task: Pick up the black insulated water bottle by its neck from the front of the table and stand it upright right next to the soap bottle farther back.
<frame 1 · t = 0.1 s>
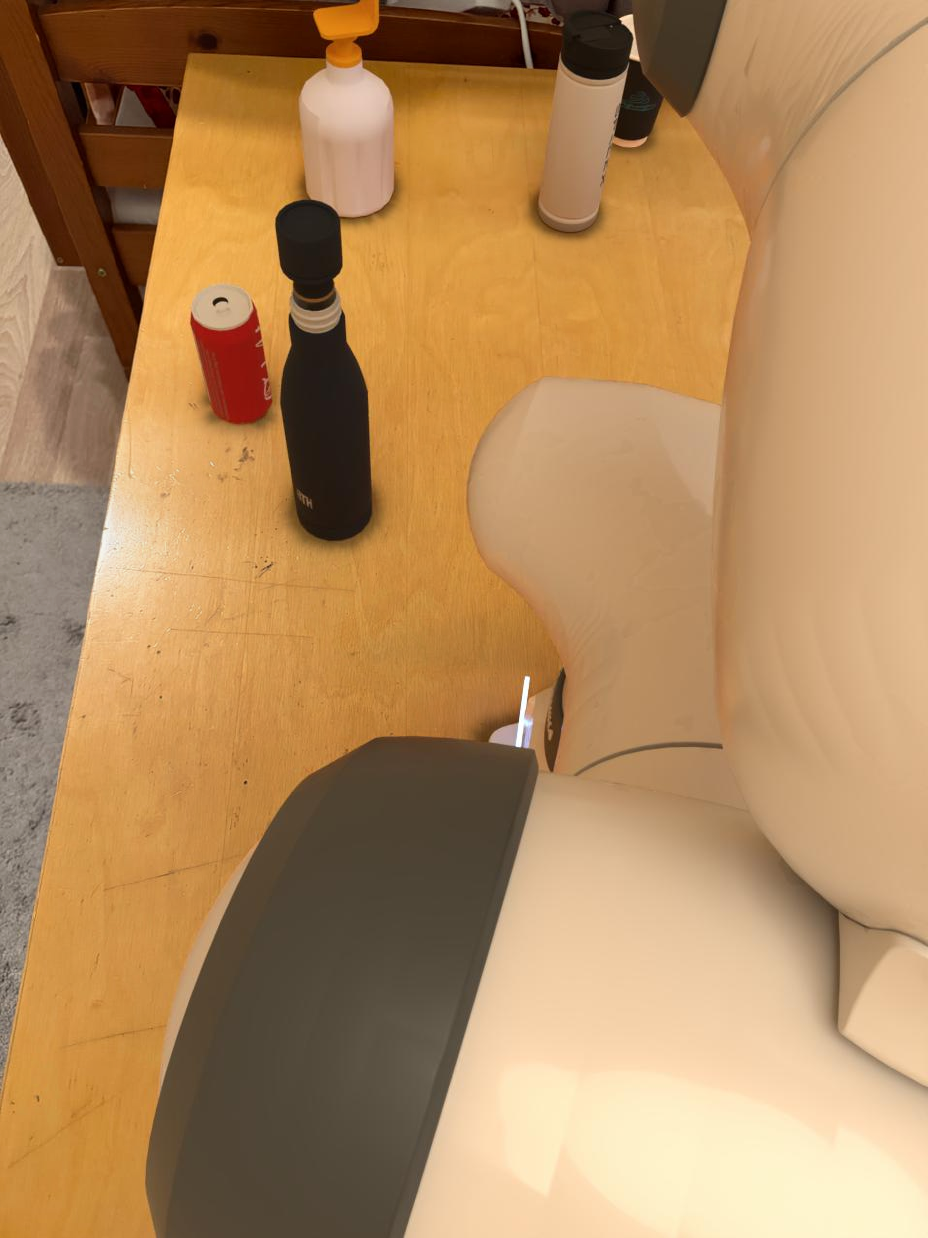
hand: (847, 128, 52), 39 cm above the table, tool pointing down, fingers open, 8 cm apart
travel mug: (565, 214, 105), on the table
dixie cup: (625, 134, 112), on the table
slate coaster: (570, 470, 89), on the table
soap bottle: (350, 191, 105), on the table
black insulated water bottle: (335, 511, 86), on the table
soda can: (242, 404, 91), on the table
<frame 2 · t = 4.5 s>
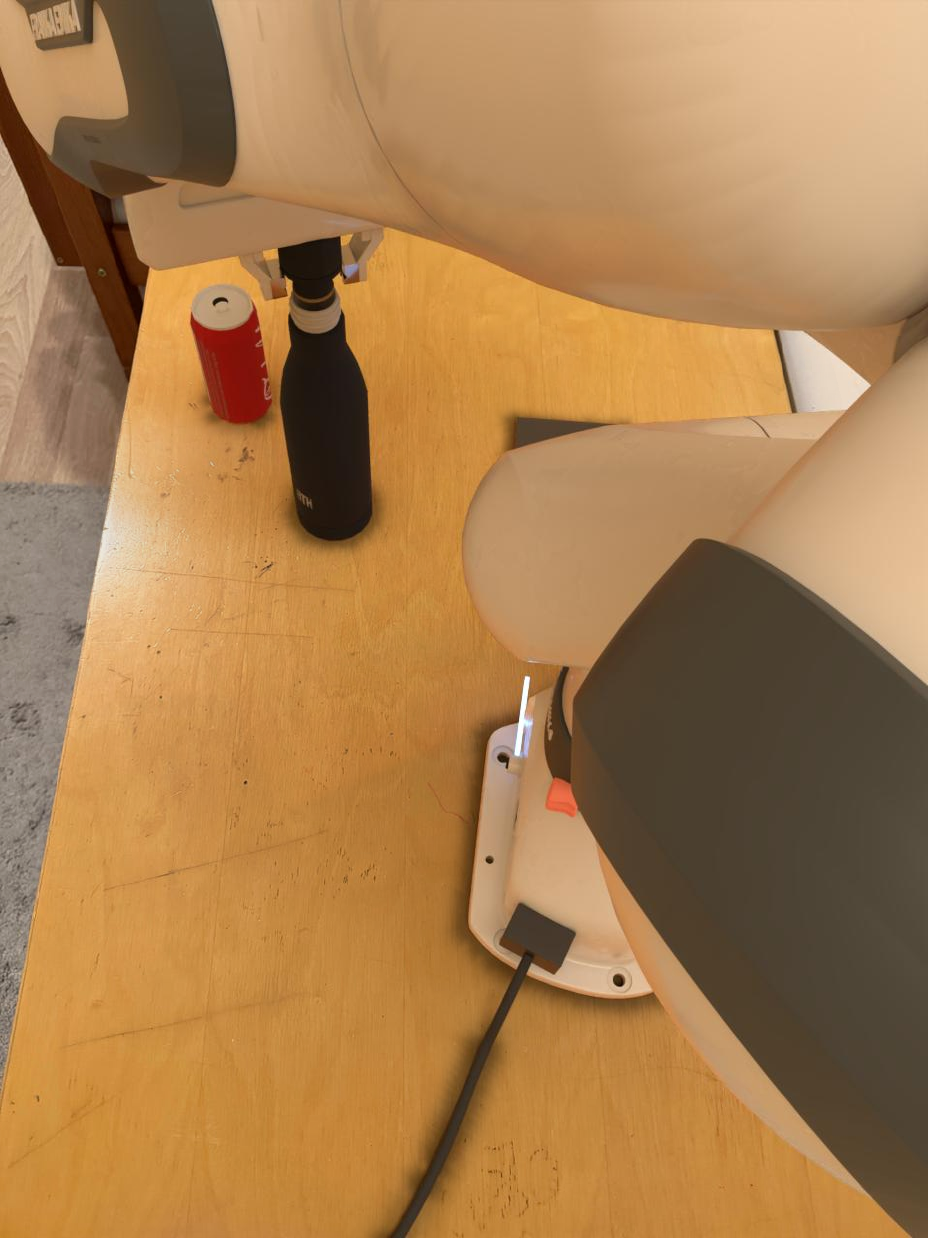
hand: (313, 284, 64), 25 cm above the table, tool pointing down, fingers closed on black insulated water bottle, 4 cm apart
black insulated water bottle: (335, 511, 86), on the table, touching gripper
everything else where it was.
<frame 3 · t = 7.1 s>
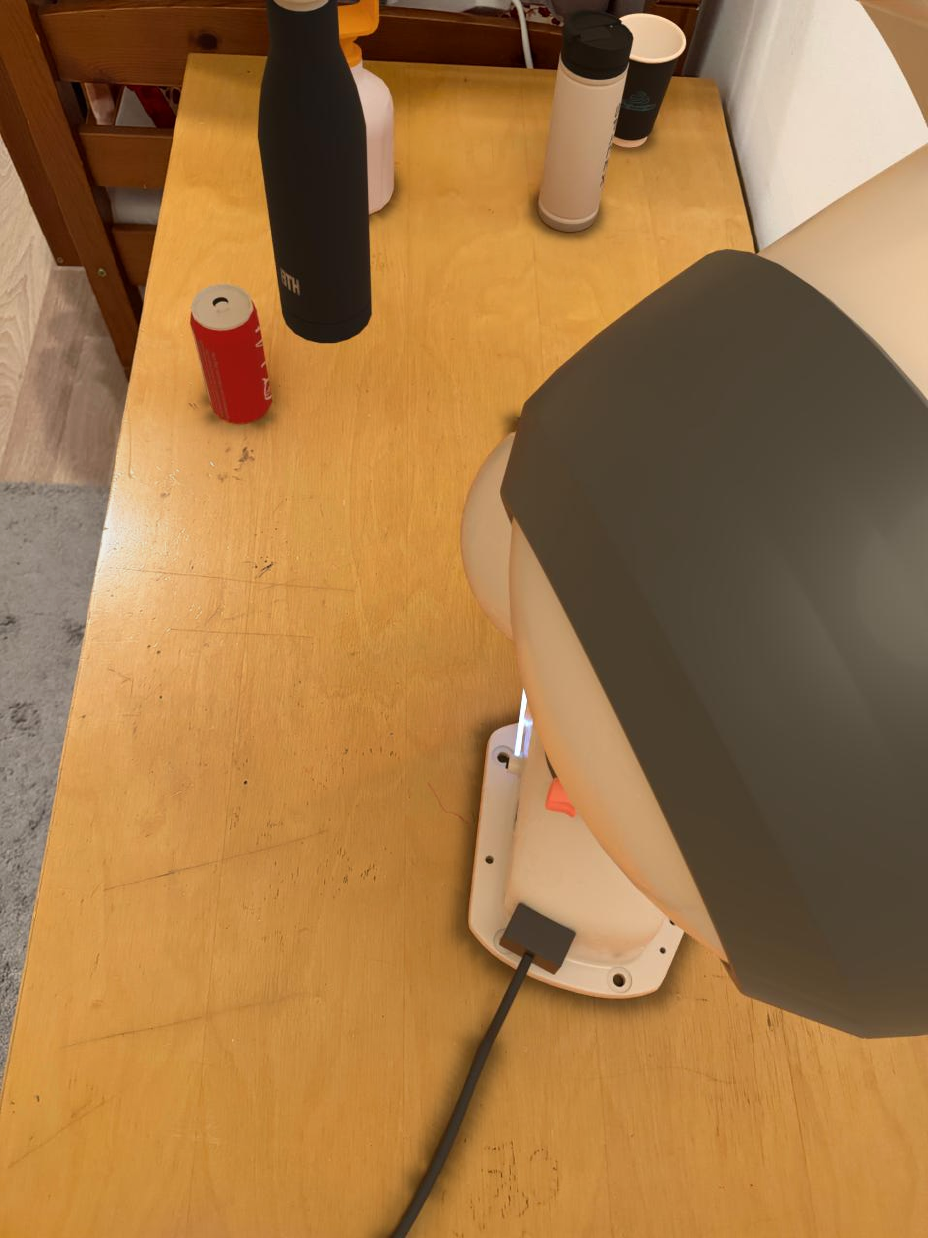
black insulated water bottle: (327, 312, 72), point 18 cm above the table, touching gripper
everything else where it was.
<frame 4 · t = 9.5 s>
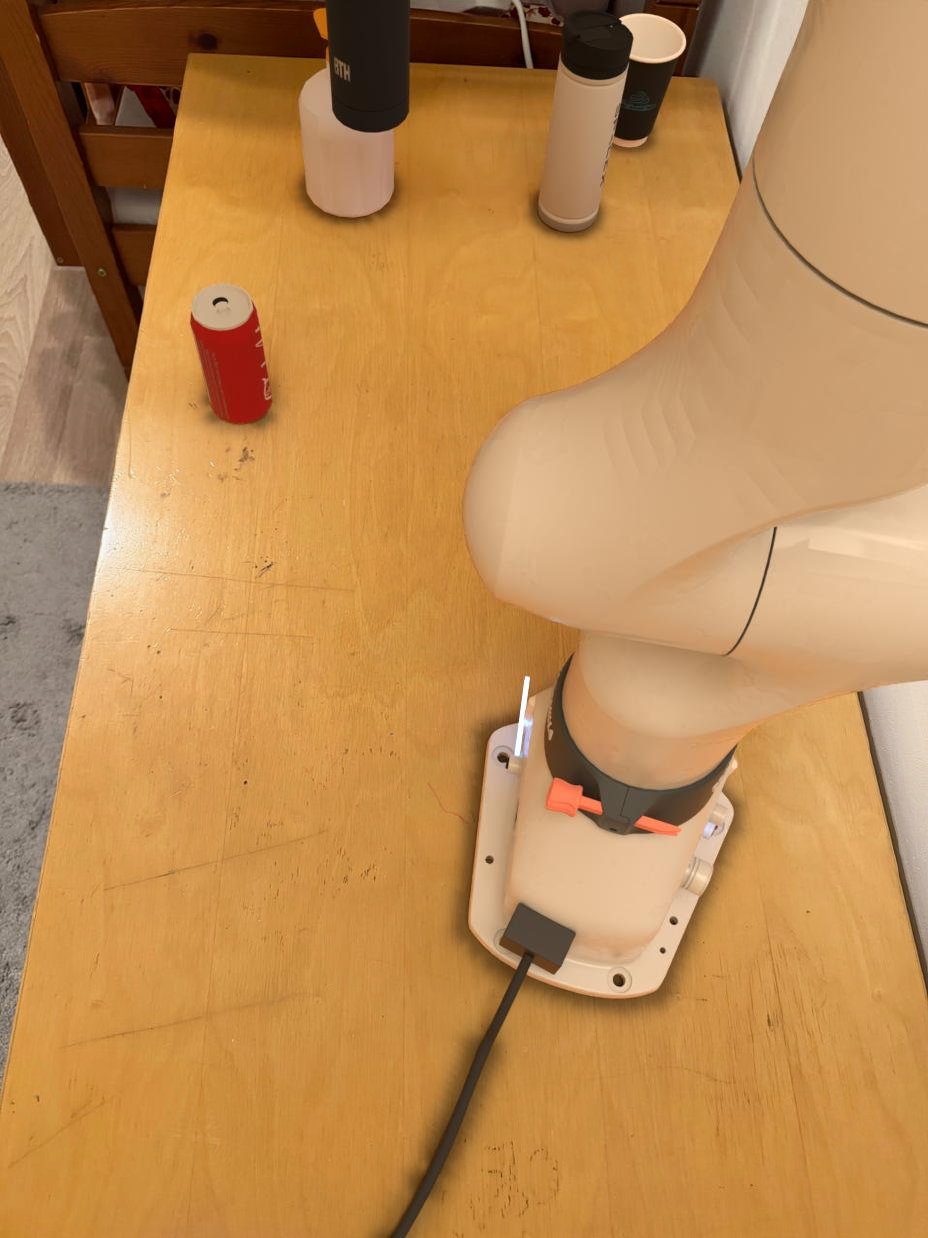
black insulated water bottle: (370, 110, 84), point 18 cm above the table, touching gripper
everything else where it was.
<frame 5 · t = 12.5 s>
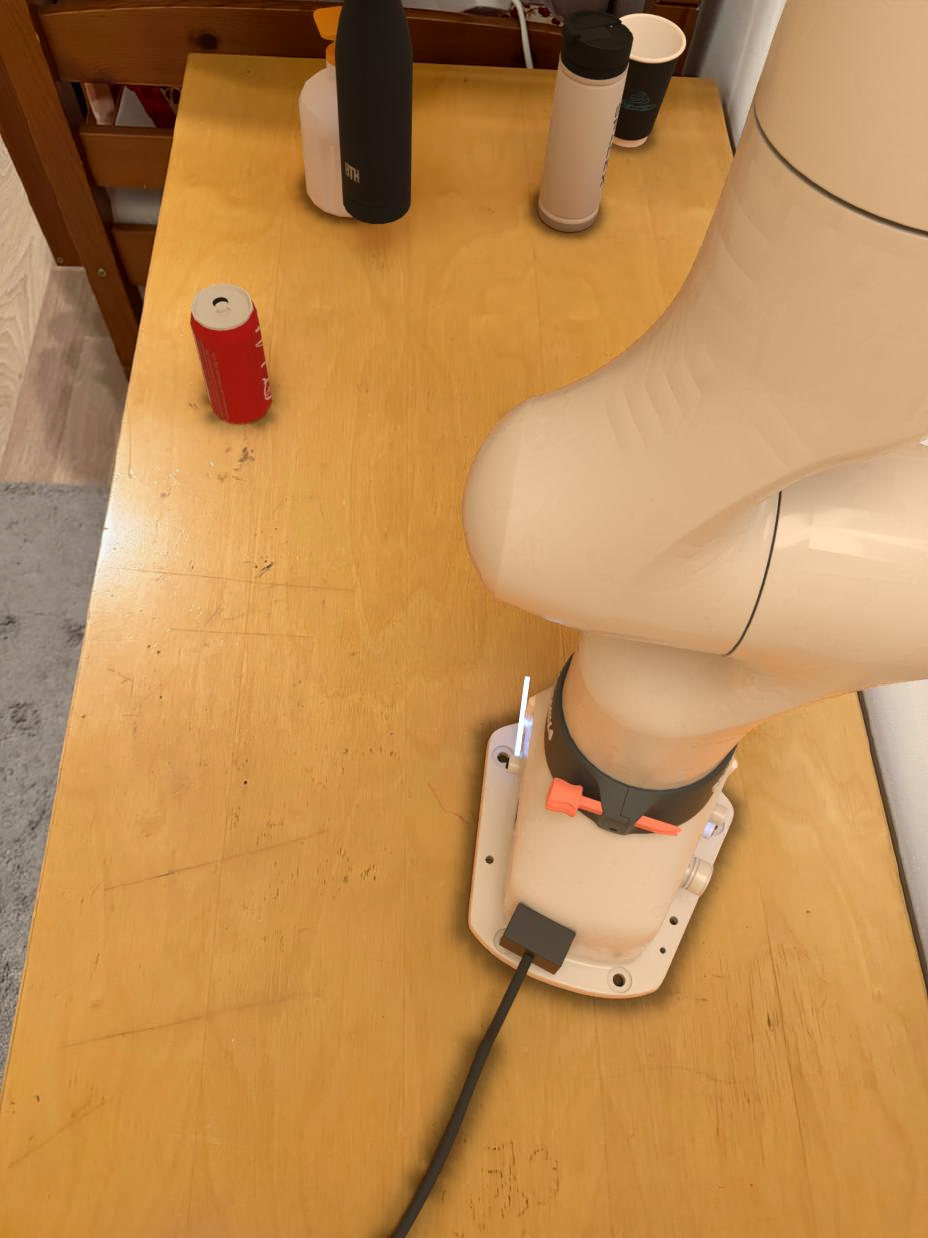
black insulated water bottle: (377, 203, 95), point 6 cm above the table, touching gripper
everything else where it was.
when the fingers open (25 cm above the table, at t = 14.7 s): black insulated water bottle stays where it is, on the table.
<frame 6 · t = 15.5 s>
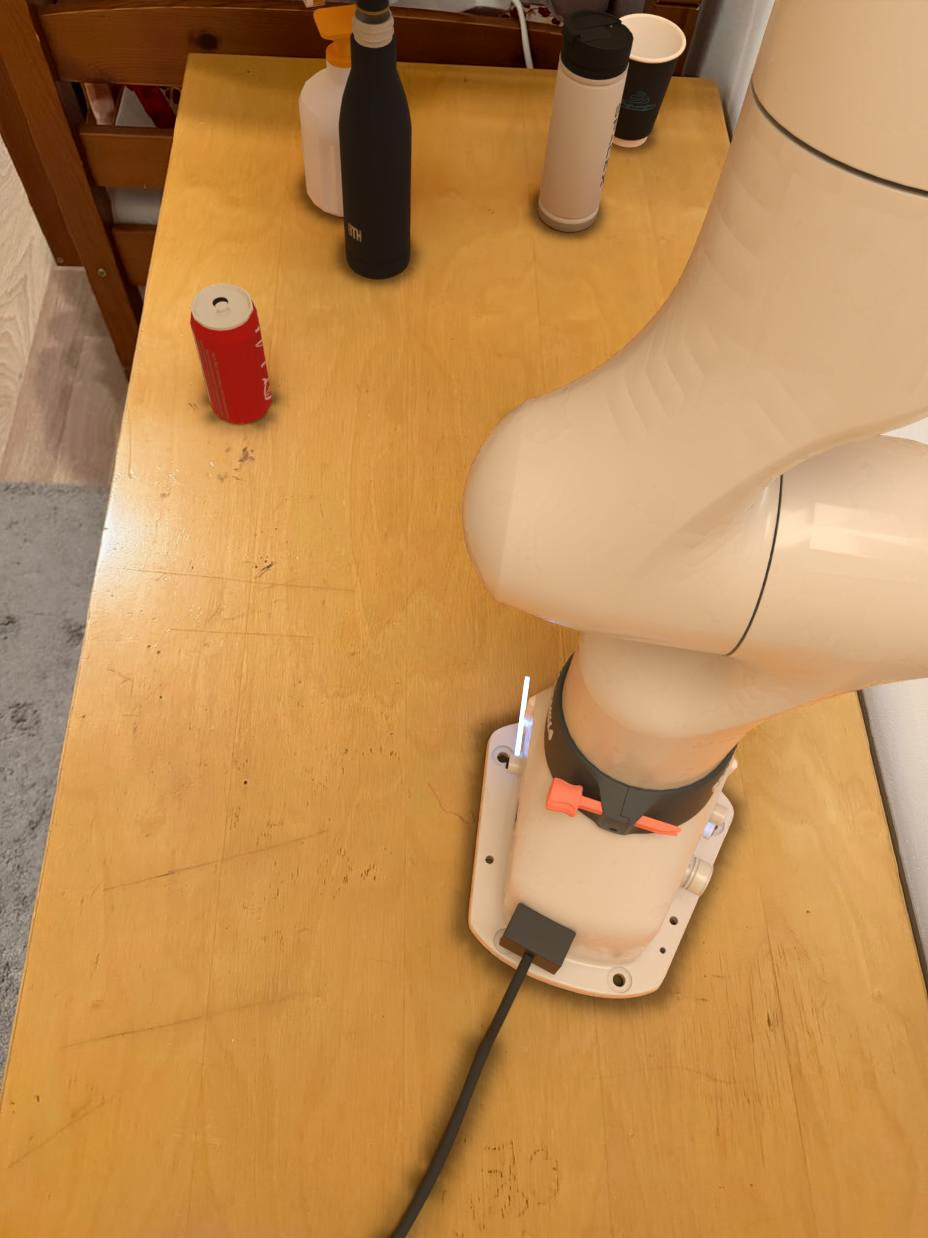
black insulated water bottle: (378, 258, 101), on the table
everything else where it was.
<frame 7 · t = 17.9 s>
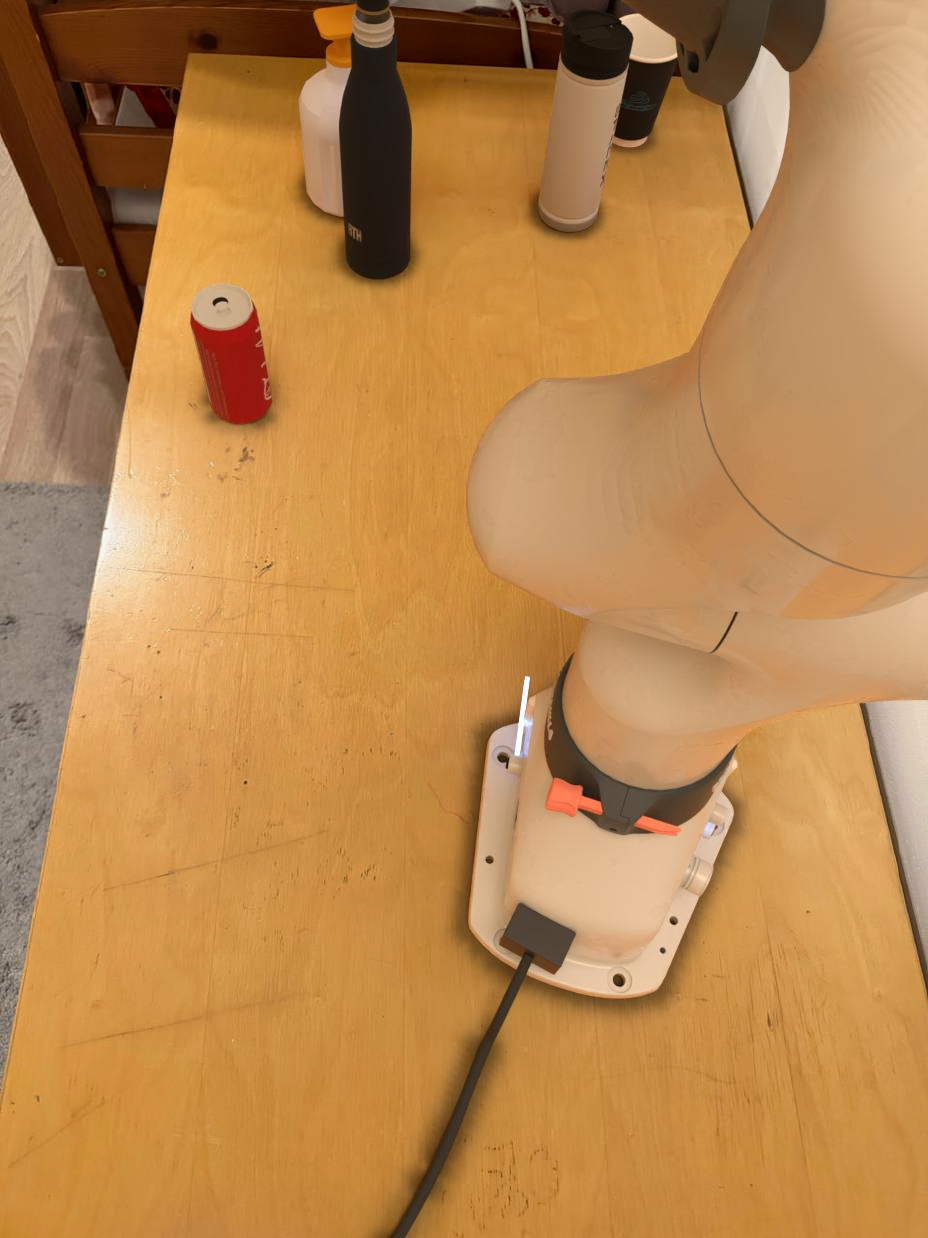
nothing on the table moved.
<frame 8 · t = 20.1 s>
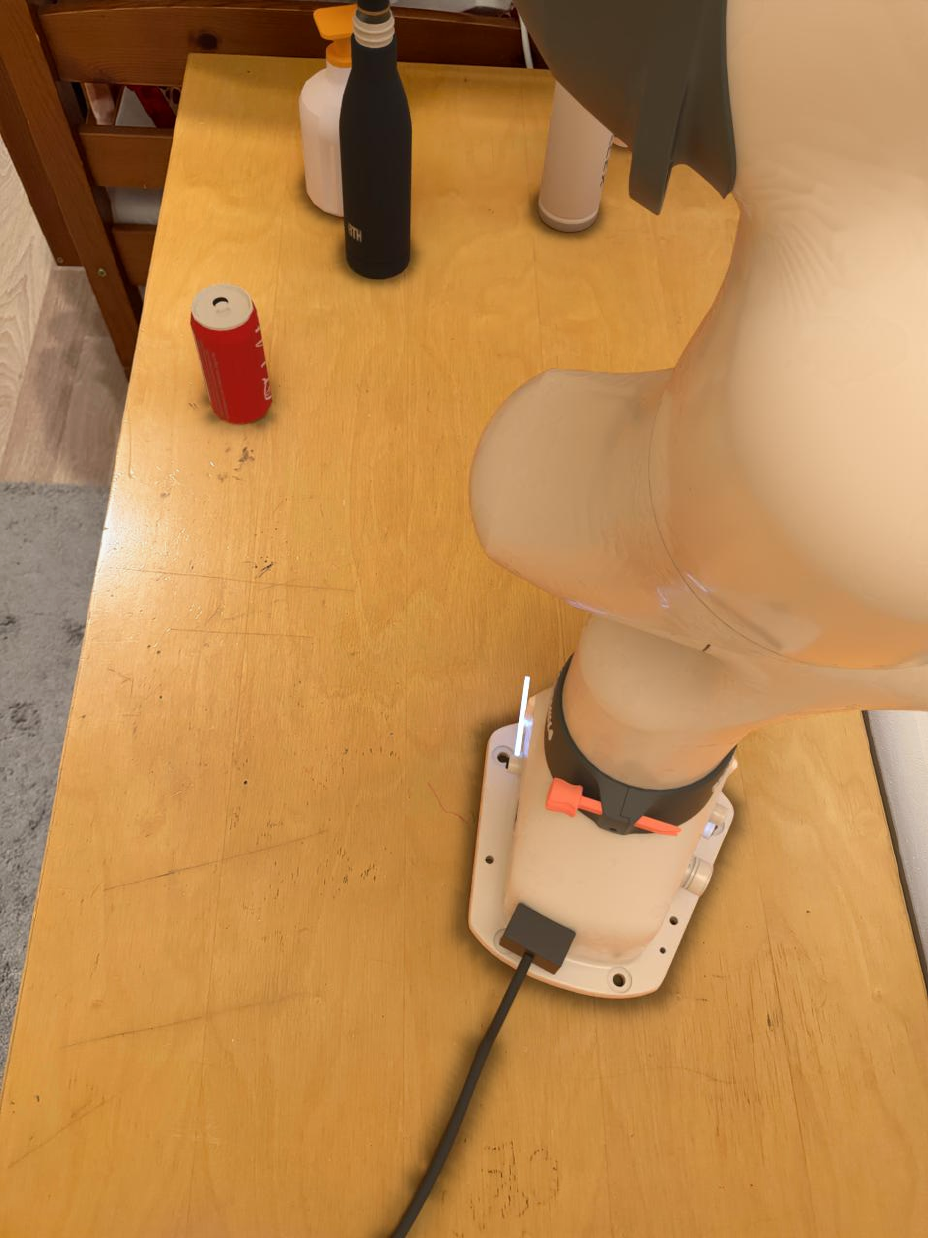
nothing on the table moved.
at the end: black insulated water bottle 10.1 cm from the soap bottle (horizontally); black insulated water bottle tilted 0°; soap bottle moved 0.2 cm from its start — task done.
